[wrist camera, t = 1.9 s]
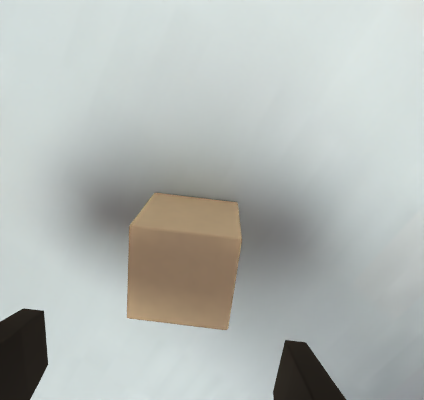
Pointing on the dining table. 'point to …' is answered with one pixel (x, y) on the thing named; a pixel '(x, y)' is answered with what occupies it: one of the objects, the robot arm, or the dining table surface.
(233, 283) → the cube
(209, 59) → the dining table surface
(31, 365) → the robot arm
